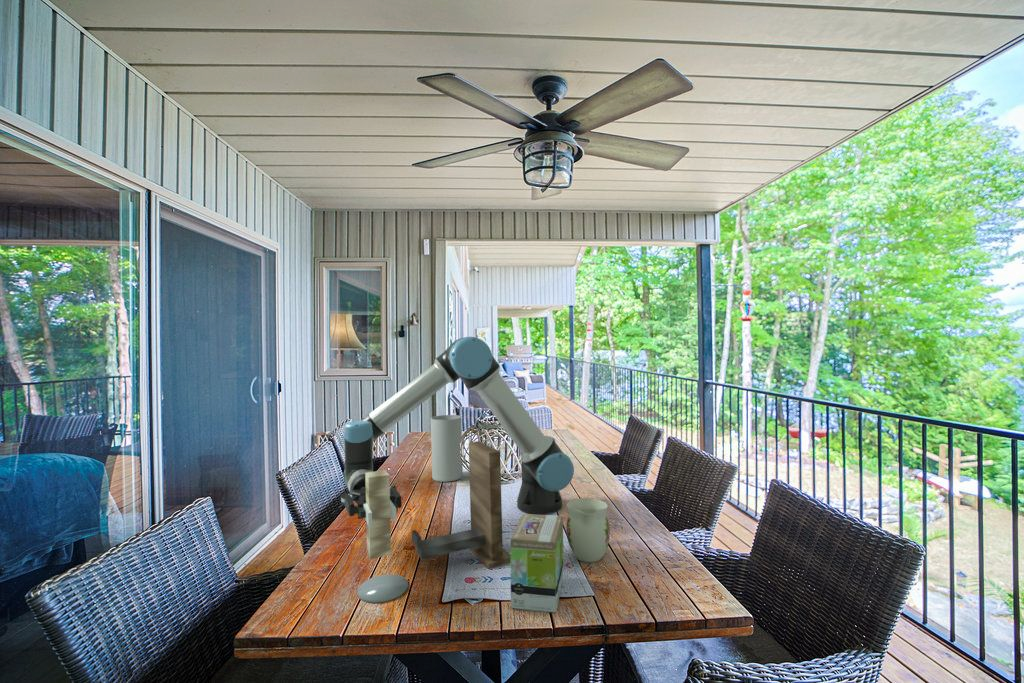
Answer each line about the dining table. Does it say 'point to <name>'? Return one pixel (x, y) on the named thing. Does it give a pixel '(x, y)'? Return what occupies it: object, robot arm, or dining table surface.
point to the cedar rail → (378, 514)
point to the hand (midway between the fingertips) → (382, 516)
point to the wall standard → (476, 514)
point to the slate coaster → (382, 588)
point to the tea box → (537, 563)
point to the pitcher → (588, 528)
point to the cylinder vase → (446, 448)
